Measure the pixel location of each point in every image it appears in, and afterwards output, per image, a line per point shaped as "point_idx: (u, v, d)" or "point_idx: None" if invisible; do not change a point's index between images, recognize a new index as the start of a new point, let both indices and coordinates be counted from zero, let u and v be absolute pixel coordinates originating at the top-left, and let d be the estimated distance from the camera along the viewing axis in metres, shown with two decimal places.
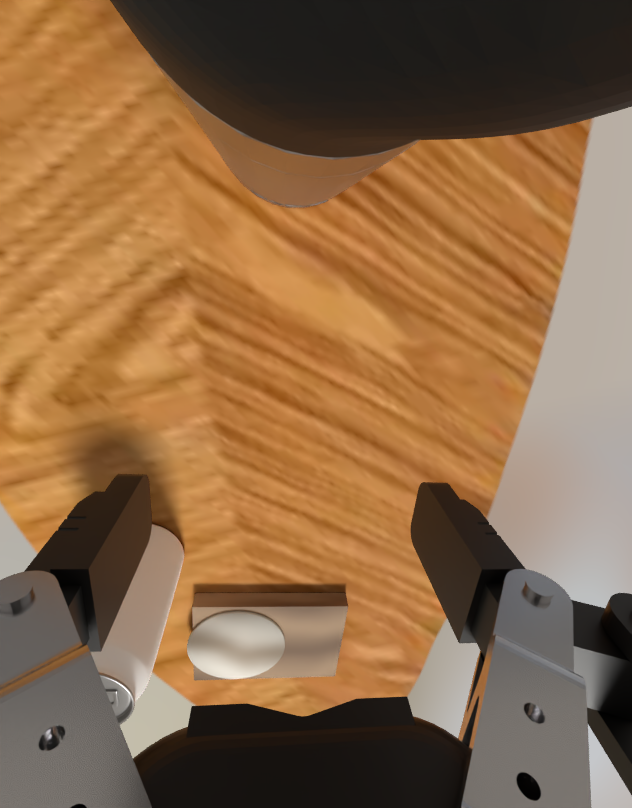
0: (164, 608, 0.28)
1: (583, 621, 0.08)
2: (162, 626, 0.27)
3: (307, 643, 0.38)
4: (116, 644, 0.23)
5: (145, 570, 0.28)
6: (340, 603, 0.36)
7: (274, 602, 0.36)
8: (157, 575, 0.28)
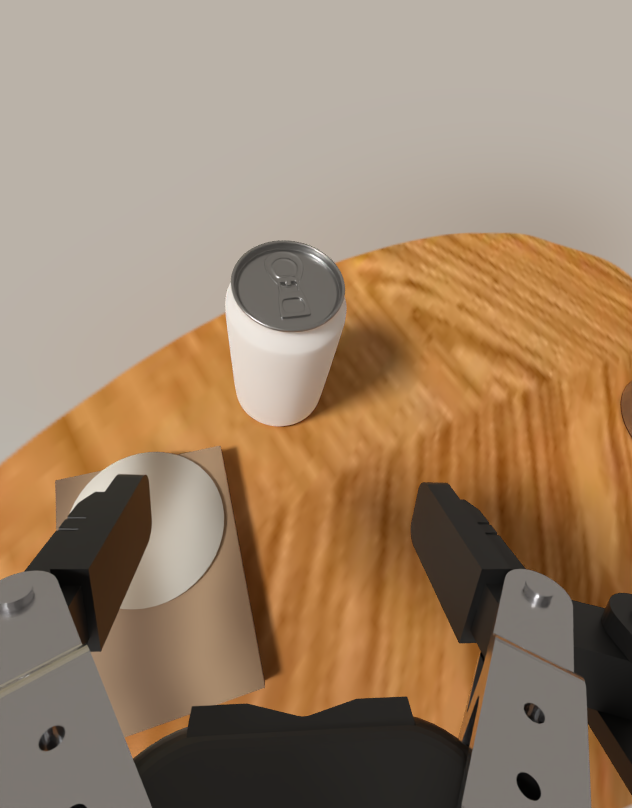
0: (307, 387, 0.23)
1: (583, 621, 0.08)
2: (301, 381, 0.22)
3: (162, 649, 0.21)
4: None
5: None
6: (262, 671, 0.22)
7: (241, 557, 0.24)
8: (324, 381, 0.25)
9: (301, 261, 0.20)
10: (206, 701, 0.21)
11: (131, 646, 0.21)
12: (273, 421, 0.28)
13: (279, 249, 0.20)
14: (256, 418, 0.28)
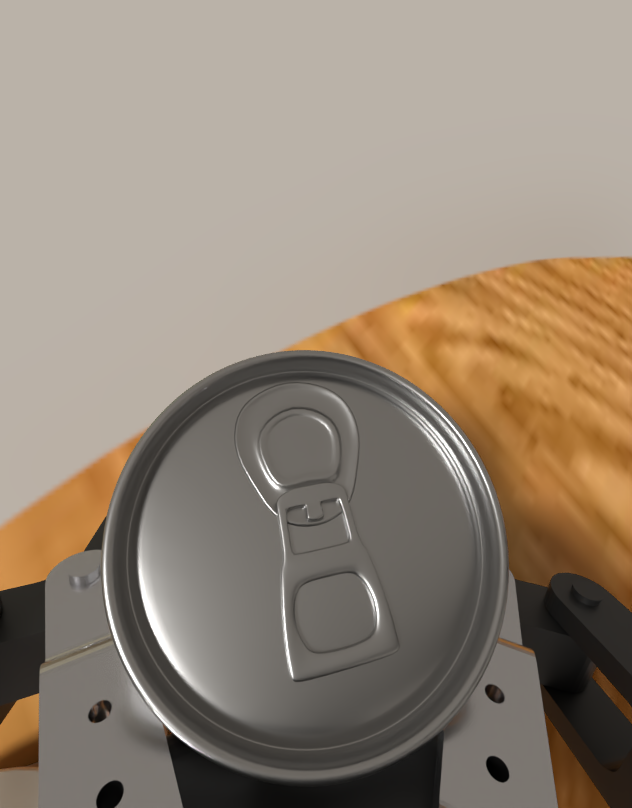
0: None
1: (527, 599, 0.08)
2: None
3: None
4: None
5: None
6: None
7: None
8: None
9: (353, 416, 0.06)
10: None
11: None
12: None
13: (283, 375, 0.07)
14: None
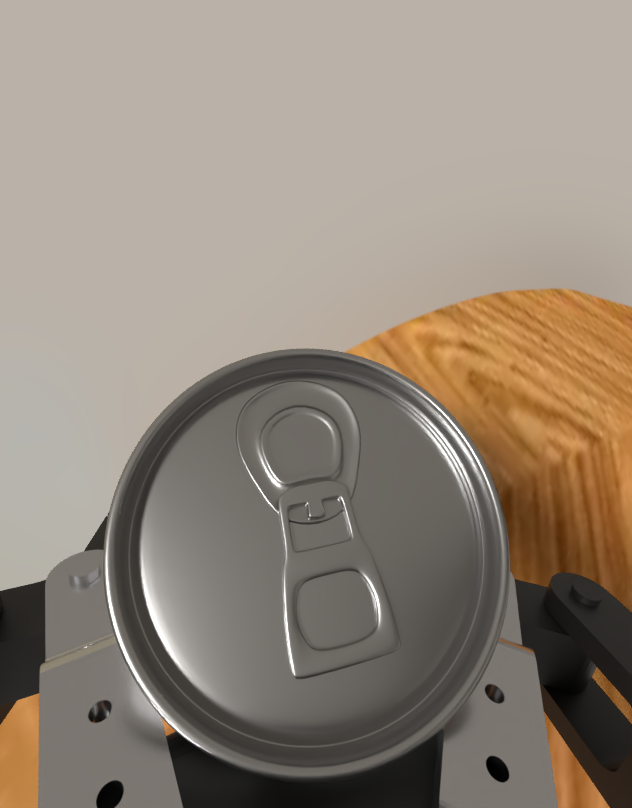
0: None
1: (526, 599, 0.08)
2: None
3: None
4: None
5: None
6: None
7: None
8: None
9: (355, 413, 0.06)
10: None
11: None
12: None
13: (284, 373, 0.07)
14: None
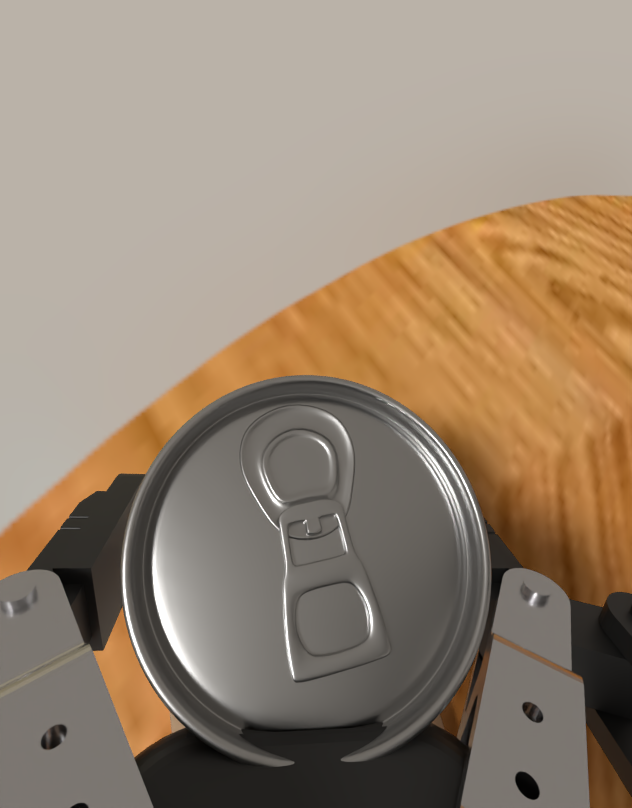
0: None
1: (580, 620, 0.08)
2: None
3: None
4: None
5: None
6: None
7: None
8: None
9: (348, 435, 0.07)
10: None
11: None
12: None
13: (284, 397, 0.07)
14: None
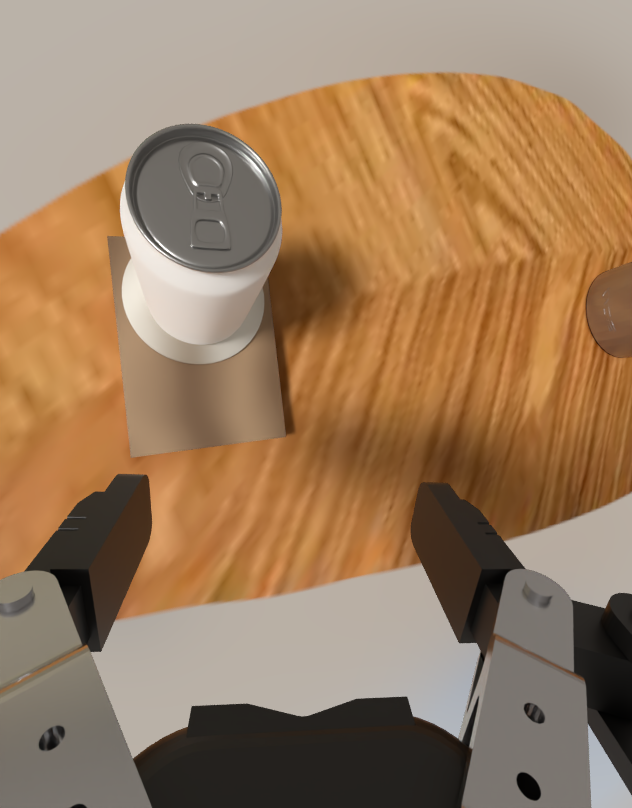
0: (224, 320, 0.20)
1: (583, 621, 0.08)
2: (216, 316, 0.19)
3: (208, 397, 0.26)
4: (276, 257, 0.17)
5: None
6: (283, 426, 0.28)
7: None
8: (247, 311, 0.22)
9: (232, 165, 0.15)
10: (242, 438, 0.27)
11: (183, 390, 0.26)
12: (185, 339, 0.24)
13: (203, 138, 0.15)
14: (166, 331, 0.24)
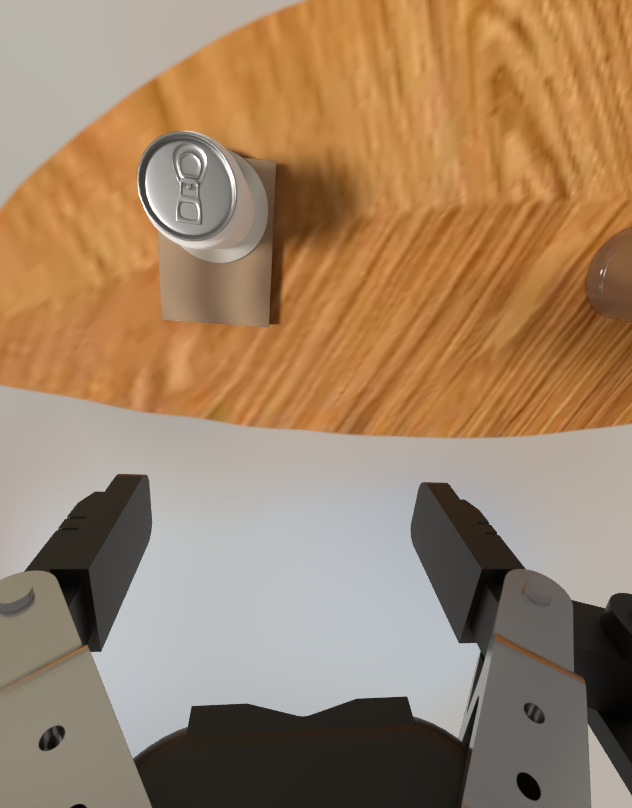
0: (215, 248, 0.29)
1: (583, 621, 0.08)
2: None
3: (216, 287, 0.36)
4: (238, 224, 0.25)
5: (245, 229, 0.30)
6: None
7: None
8: (238, 239, 0.30)
9: (207, 161, 0.22)
10: (236, 321, 0.38)
11: (199, 279, 0.36)
12: None
13: (190, 139, 0.22)
14: None
